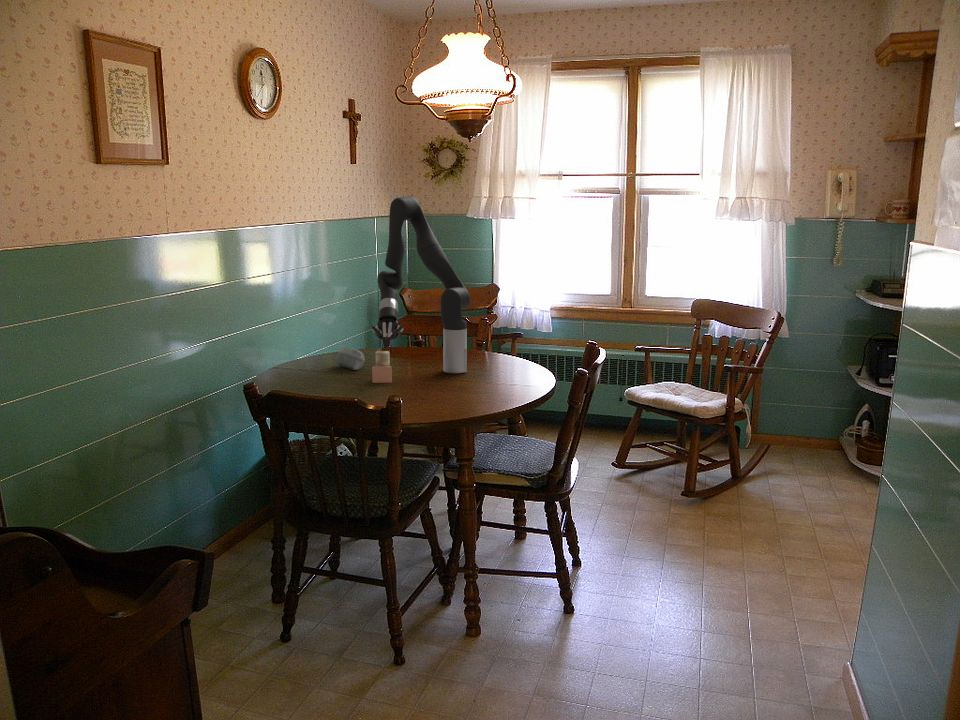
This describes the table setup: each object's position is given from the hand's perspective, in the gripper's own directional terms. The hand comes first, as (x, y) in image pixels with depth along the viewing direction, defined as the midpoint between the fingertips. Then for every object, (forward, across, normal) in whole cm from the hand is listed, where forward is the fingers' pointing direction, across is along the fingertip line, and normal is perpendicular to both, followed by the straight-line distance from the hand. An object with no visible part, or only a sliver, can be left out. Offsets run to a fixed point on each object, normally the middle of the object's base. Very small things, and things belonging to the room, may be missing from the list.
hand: (386, 346), depth 301 cm
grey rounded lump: (+2, -16, +12) cm, 20 cm away
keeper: (+17, 0, -2) cm, 17 cm away
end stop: (+19, 0, -4) cm, 20 cm away
